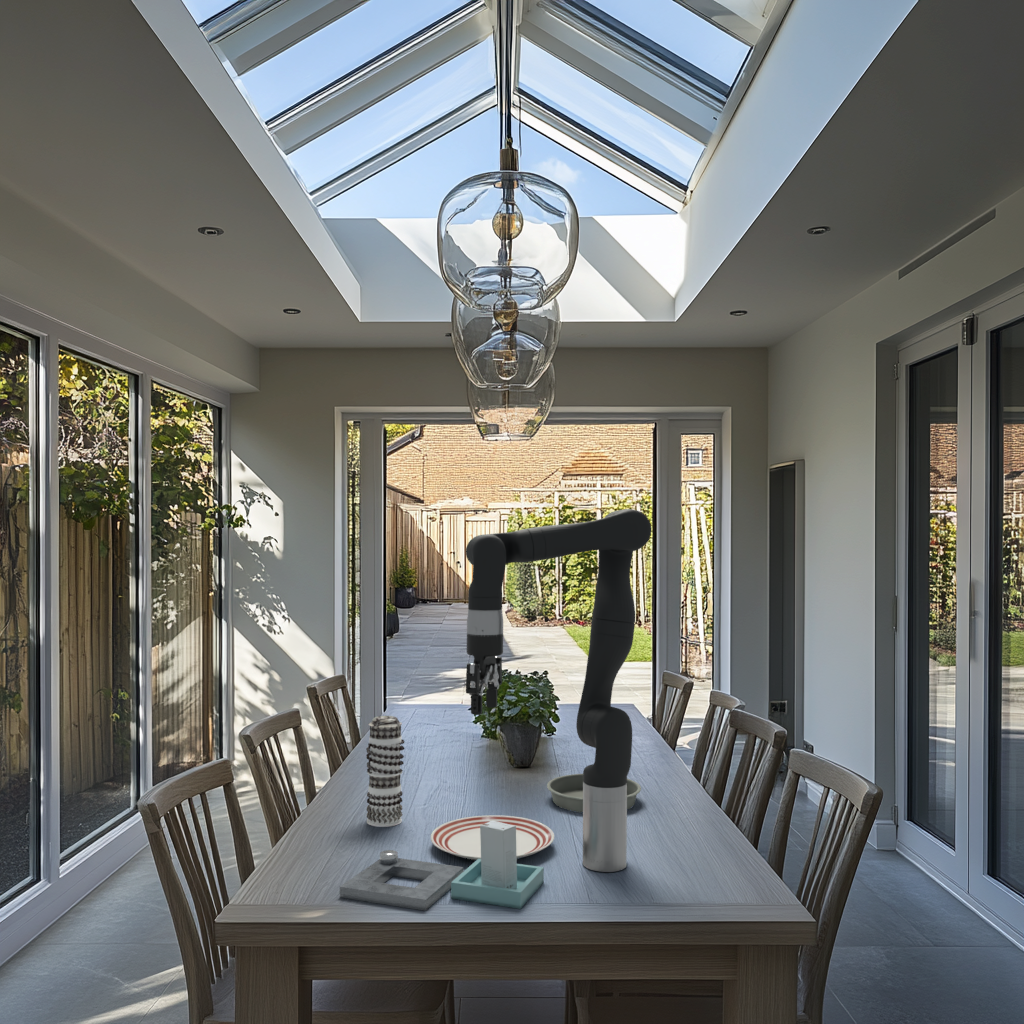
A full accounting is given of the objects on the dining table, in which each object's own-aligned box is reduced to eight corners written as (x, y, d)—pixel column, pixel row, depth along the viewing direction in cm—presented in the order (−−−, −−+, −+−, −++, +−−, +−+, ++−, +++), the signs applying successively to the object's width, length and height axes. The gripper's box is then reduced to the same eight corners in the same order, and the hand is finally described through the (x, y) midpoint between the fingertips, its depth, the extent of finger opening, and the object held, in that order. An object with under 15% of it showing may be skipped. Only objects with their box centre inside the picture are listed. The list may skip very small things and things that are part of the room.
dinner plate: (543, 875, 186) (543, 858, 186) (414, 864, 192) (414, 848, 192) (562, 833, 213) (562, 819, 213) (449, 825, 218) (449, 811, 219)
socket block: (383, 865, 190) (384, 848, 190) (463, 877, 184) (463, 859, 184) (339, 897, 173) (339, 878, 173) (425, 910, 167) (425, 890, 167)
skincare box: (518, 888, 177) (518, 825, 178) (503, 895, 174) (504, 830, 174) (493, 880, 181) (493, 819, 181) (478, 887, 177) (479, 824, 178)
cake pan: (536, 811, 230) (536, 793, 231) (559, 786, 254) (559, 770, 254) (632, 820, 223) (632, 802, 223) (647, 794, 247) (647, 777, 247)
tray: (478, 873, 186) (478, 858, 186) (543, 882, 181) (543, 867, 182) (450, 898, 173) (451, 882, 173) (520, 908, 168) (520, 892, 168)
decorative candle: (408, 824, 218) (409, 719, 218) (369, 829, 214) (371, 722, 215) (398, 814, 226) (399, 712, 227) (361, 818, 223) (362, 715, 224)
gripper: (489, 635, 180) (488, 718, 179) (513, 629, 193) (513, 706, 192) (454, 634, 182) (453, 715, 181) (480, 627, 195) (480, 703, 195)
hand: (484, 710), depth 187 cm, fingers open, 8 cm apart
